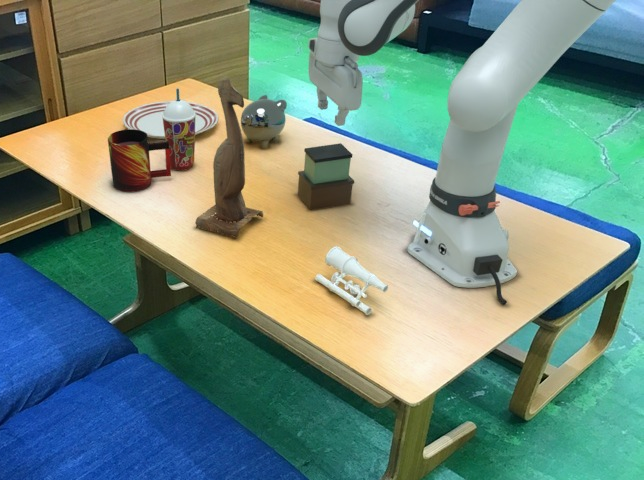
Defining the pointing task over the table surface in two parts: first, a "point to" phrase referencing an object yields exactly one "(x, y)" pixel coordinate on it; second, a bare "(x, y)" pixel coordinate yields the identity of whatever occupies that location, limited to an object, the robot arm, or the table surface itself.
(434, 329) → the table surface
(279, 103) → the piggy bank
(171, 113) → the smoothie
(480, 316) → the table surface
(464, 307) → the table surface
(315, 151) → the green lidded box
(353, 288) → the white tapered barrel part
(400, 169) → the table surface
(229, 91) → the bird sculpture
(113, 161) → the mug
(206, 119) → the dinner plate
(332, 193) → the walnut box
